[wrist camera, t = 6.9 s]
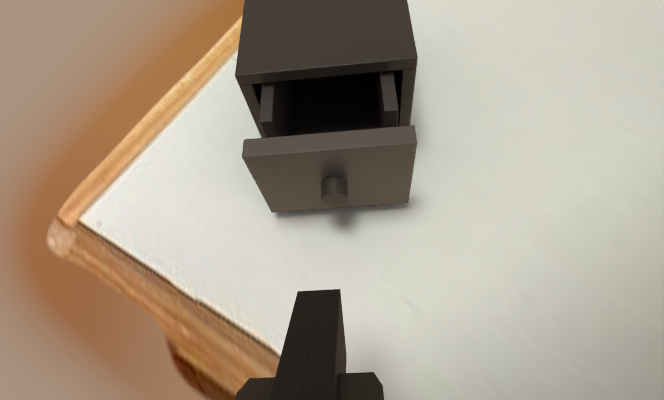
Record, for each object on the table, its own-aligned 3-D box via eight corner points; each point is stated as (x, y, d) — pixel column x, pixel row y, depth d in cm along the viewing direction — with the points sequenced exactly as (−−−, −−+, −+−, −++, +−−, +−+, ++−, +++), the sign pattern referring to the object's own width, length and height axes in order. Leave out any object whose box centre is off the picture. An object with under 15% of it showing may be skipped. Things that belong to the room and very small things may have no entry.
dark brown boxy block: (407, 147, 29) (417, 57, 22) (270, 158, 30) (234, 75, 23) (391, 34, 35) (395, -67, 28) (277, 46, 36) (250, -49, 29)
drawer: (410, 219, 26) (420, 161, 20) (270, 228, 26) (239, 176, 20) (391, 78, 32) (394, 2, 26) (278, 89, 32) (256, 17, 27)
